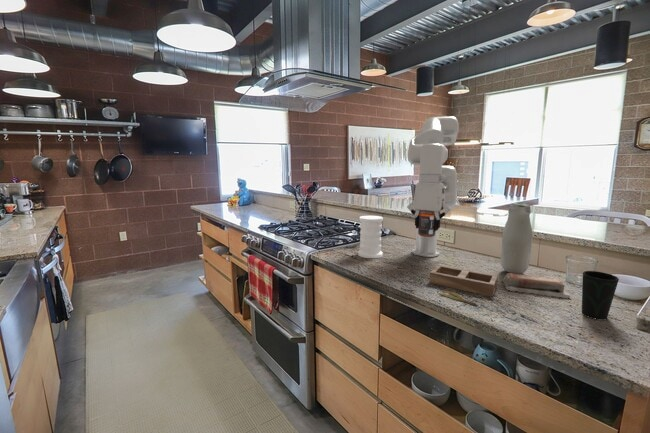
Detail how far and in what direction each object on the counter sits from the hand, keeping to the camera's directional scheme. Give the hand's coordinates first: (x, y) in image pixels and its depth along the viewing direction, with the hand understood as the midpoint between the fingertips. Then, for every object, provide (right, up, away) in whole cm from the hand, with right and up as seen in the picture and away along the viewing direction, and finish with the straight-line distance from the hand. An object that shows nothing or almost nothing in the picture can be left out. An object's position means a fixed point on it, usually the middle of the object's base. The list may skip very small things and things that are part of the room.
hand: (427, 228), depth 115 cm
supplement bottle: (0, -3, 0) cm, 3 cm away
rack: (+12, -20, -2) cm, 23 cm away
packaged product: (+35, -21, -6) cm, 42 cm away
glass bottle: (+38, -18, +11) cm, 43 cm away
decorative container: (-16, -14, +35) cm, 41 cm away
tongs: (+6, -23, -14) cm, 27 cm away
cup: (+40, -24, -25) cm, 53 cm away
